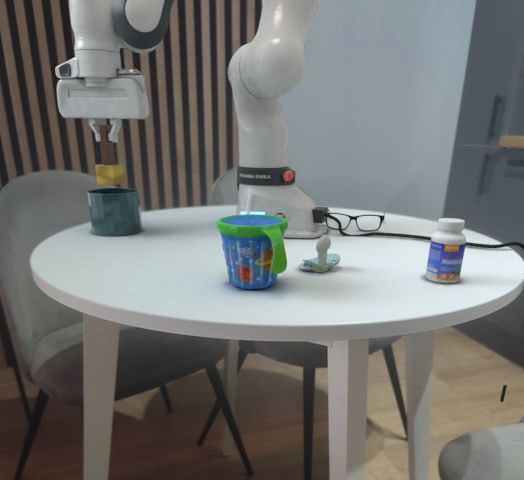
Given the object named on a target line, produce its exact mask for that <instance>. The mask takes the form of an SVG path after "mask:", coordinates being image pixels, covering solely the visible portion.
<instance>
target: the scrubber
mask: <svg viewBox="0 0 524 480" xmlns="http://www.w3.org/2000/svg"><path fill="white" fill-rule="evenodd" d="M98 125H99V131H100V140H101V142H100V147H101V156H102V157H101V158H102V163H101V164H95V165H94V167H95V168H94V169H95V175H96V176H95V177H96V184H97V185H102V186H103V185H104V186H105V185H106V186H117V185H123V184H126V175H125V166H124V165H125V164H123V163H122V164H121V163H116V155H115V143H114V142H108V137H107V133H110V132H111V129H112V126H113V125H111V124H98Z"/></svg>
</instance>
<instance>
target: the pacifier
mask: <svg viewBox="0 0 524 480" xmlns="http://www.w3.org/2000/svg"><path fill="white" fill-rule="evenodd" d="M330 237H331V236H329V235H328V234H324V235H322V236H320V237H319V238H318V240H317V242H316V244H315V250H316V252H317V257H313V258H309V259H302V262H301V263H299V265H298V268H299V269H300V270H304V271H312V272H316V273H323V272H324V273H325V272H327V271H329V270H330V268H333V267H335V266H337V265H338V264H339V263H340V262H341V256H340V254H337V253H328V250H329V249H330V248H331V245H332V239H331V238H330Z"/></svg>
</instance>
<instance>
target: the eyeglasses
mask: <svg viewBox="0 0 524 480" xmlns="http://www.w3.org/2000/svg"><path fill="white" fill-rule="evenodd" d="M328 214H329V215H339V216H340V215H341V216H346V217H348V218H349V221H348V223H347V226H345V228H342V231H345V230H347V229H348V227H349V226H350V224H351V221H354V222H355V224H356V227H357V229H358V230H359V231H360V232H364V233H371V232H378V230H380V229H381V227H382V224H383V222H384V221H385V217H386V215H385V214H386V211H383V215H381V214H359V215H350V214H345V213H340V212H331V211H330V209H329V208H328ZM361 217H378V218H379V225H378V227H377V228H375V229H370V230H365V229H361V228H360V227H359V225H358V218H361ZM328 219H329V220H331V219H330V218H328ZM324 223H325V225H326V226H327V229H332V230H335V231H339V228H335V227H332V226H329V223H328V220H327V221H325V222H324Z"/></svg>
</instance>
